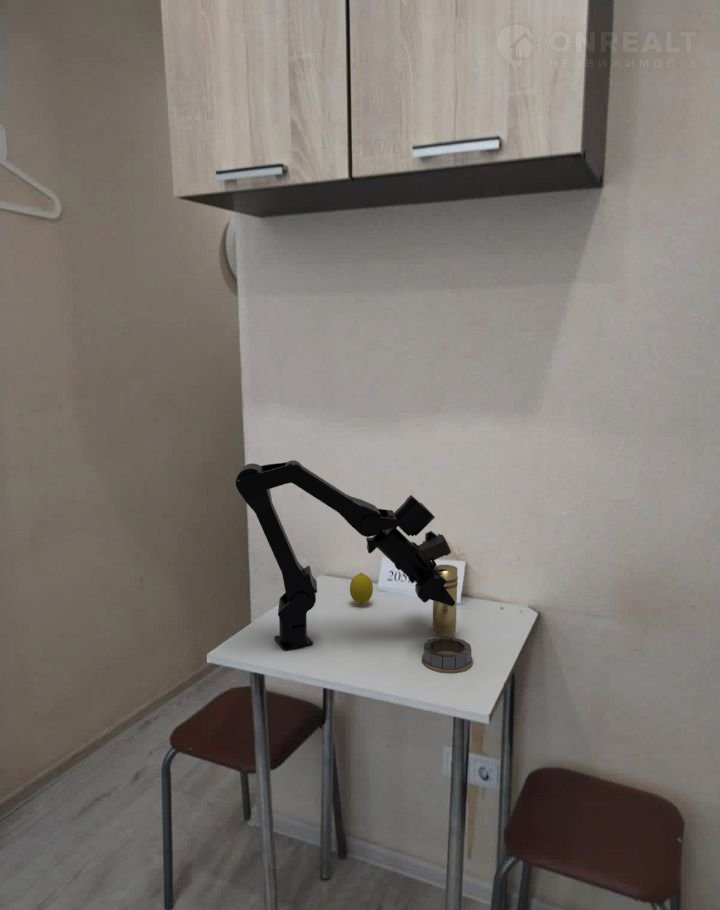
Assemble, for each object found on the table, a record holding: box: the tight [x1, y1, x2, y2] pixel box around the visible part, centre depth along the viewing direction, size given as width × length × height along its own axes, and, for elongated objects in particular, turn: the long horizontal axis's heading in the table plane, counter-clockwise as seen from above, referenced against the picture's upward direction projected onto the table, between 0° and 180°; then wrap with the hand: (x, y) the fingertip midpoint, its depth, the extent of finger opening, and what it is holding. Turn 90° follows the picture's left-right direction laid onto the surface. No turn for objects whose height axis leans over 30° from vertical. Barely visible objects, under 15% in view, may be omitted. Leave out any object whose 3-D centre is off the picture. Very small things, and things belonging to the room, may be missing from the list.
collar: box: [423, 636, 472, 670], centre depth 132 cm, size 9×9×2 cm
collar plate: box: [421, 651, 474, 674], centre depth 132 cm, size 10×10×1 cm
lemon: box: [349, 572, 374, 606], centre depth 161 cm, size 6×6×8 cm
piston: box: [431, 564, 459, 637], centre depth 142 cm, size 5×5×14 cm
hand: (451, 599), depth 142 cm, fingers closed on piston, 5 cm apart
